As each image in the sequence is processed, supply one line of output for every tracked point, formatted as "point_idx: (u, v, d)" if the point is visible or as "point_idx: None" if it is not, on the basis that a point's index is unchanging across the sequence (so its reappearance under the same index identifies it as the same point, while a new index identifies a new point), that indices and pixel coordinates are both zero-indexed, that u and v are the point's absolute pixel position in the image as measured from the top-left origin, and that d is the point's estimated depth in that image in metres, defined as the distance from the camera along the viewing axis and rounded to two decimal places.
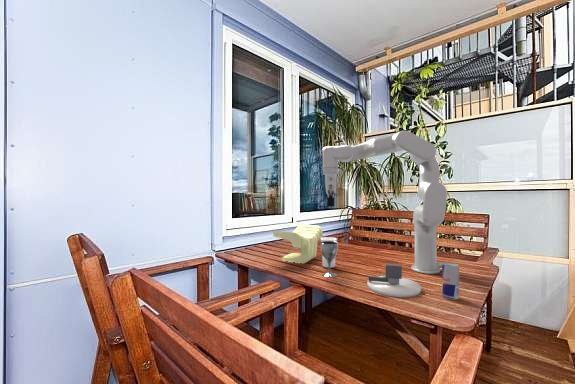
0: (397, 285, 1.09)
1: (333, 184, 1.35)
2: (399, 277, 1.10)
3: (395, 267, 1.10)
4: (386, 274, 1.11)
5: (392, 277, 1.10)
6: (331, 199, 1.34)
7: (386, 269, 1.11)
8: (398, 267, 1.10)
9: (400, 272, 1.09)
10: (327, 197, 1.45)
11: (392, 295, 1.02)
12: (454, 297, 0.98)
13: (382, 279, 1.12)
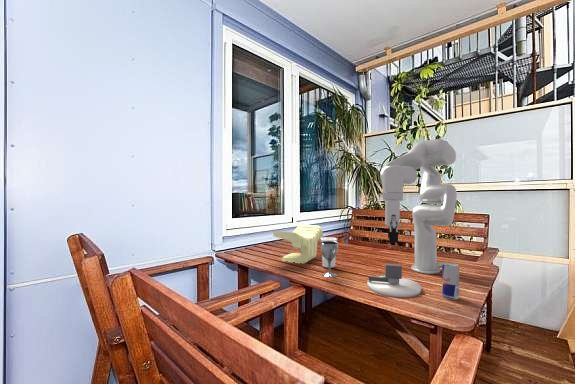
0: (397, 285, 1.09)
1: None
2: (399, 277, 1.10)
3: (395, 267, 1.10)
4: (386, 274, 1.11)
5: (392, 277, 1.10)
6: None
7: (386, 269, 1.11)
8: (398, 267, 1.10)
9: (400, 272, 1.09)
10: (397, 231, 1.06)
11: (392, 295, 1.02)
12: (454, 297, 0.98)
13: (382, 279, 1.12)
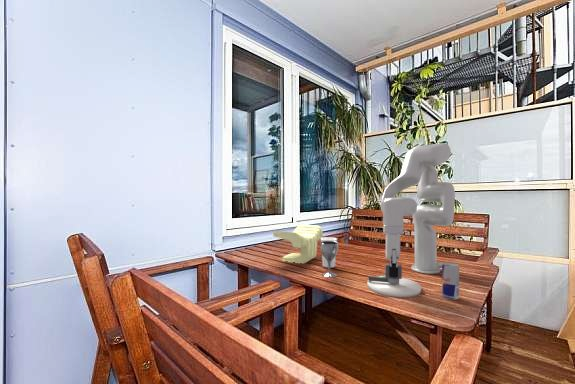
0: (397, 285, 1.09)
1: None
2: (399, 277, 1.10)
3: None
4: (386, 274, 1.11)
5: (392, 277, 1.10)
6: None
7: (386, 269, 1.11)
8: (398, 267, 1.10)
9: (400, 272, 1.09)
10: (397, 266, 1.09)
11: (392, 295, 1.02)
12: (454, 297, 0.98)
13: (382, 279, 1.12)
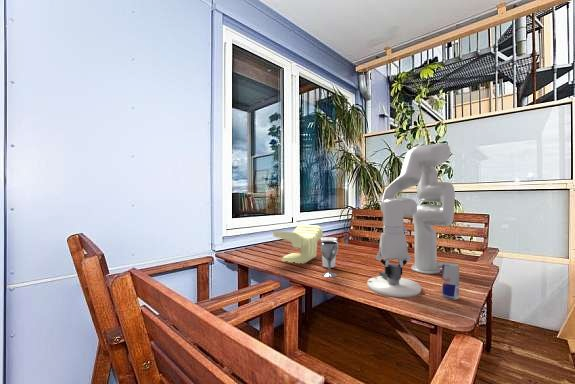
0: (397, 285, 1.09)
1: None
2: (393, 278, 1.09)
3: (391, 267, 1.10)
4: None
5: None
6: None
7: None
8: (393, 267, 1.09)
9: (394, 273, 1.09)
10: (388, 267, 1.10)
11: (392, 295, 1.02)
12: (454, 297, 0.98)
13: (386, 276, 1.15)
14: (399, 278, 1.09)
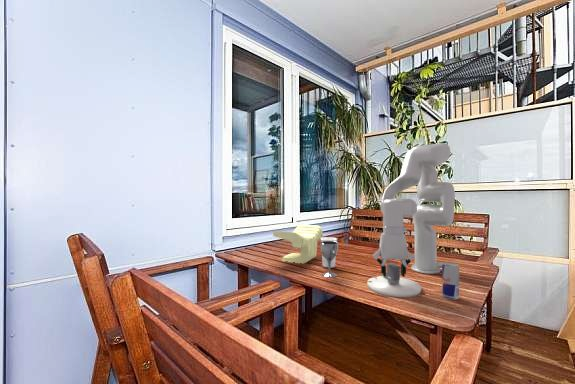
0: (397, 285, 1.09)
1: None
2: (392, 277, 1.09)
3: (391, 267, 1.10)
4: (387, 272, 1.14)
5: (389, 276, 1.12)
6: None
7: (387, 267, 1.14)
8: (392, 267, 1.09)
9: (393, 273, 1.09)
10: (385, 266, 1.10)
11: (392, 295, 1.02)
12: (454, 297, 0.98)
13: (387, 276, 1.15)
14: (398, 278, 1.08)
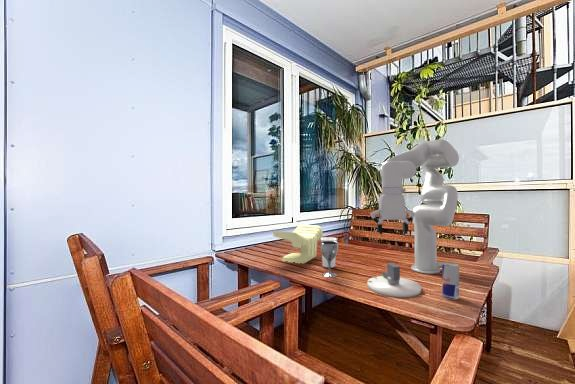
0: (397, 285, 1.09)
1: None
2: (392, 277, 1.09)
3: (391, 267, 1.10)
4: (387, 272, 1.14)
5: (389, 276, 1.12)
6: None
7: (387, 267, 1.14)
8: (392, 267, 1.09)
9: (393, 273, 1.09)
10: (381, 224, 1.13)
11: (392, 295, 1.02)
12: (454, 297, 0.98)
13: (387, 276, 1.15)
14: (398, 278, 1.08)
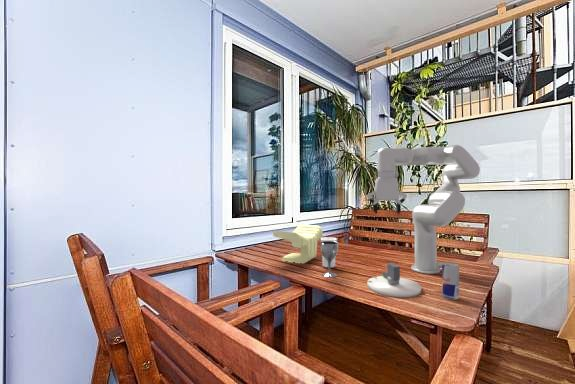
0: (397, 285, 1.09)
1: None
2: (392, 277, 1.09)
3: (391, 267, 1.10)
4: (387, 272, 1.14)
5: (389, 276, 1.12)
6: None
7: (387, 267, 1.14)
8: (392, 267, 1.09)
9: (393, 273, 1.09)
10: None
11: (392, 295, 1.02)
12: (454, 297, 0.98)
13: (387, 276, 1.15)
14: (398, 278, 1.08)
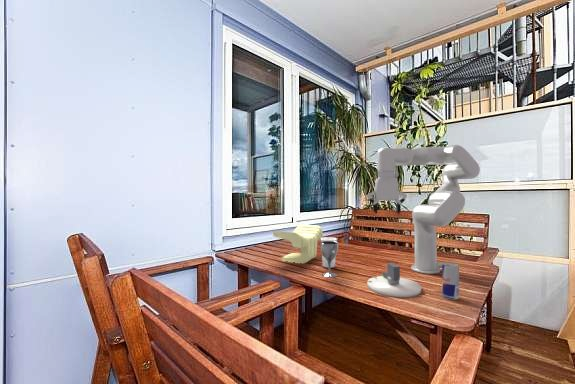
0: (397, 285, 1.09)
1: None
2: (392, 277, 1.09)
3: (391, 267, 1.10)
4: (387, 272, 1.14)
5: (389, 276, 1.12)
6: None
7: (387, 267, 1.14)
8: (392, 267, 1.09)
9: (393, 273, 1.09)
10: None
11: (392, 295, 1.02)
12: (454, 297, 0.98)
13: (387, 276, 1.15)
14: (398, 278, 1.08)
